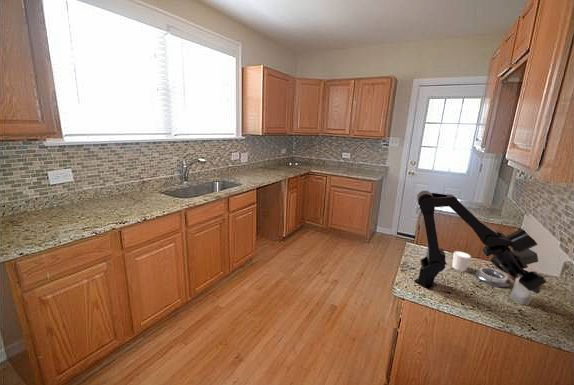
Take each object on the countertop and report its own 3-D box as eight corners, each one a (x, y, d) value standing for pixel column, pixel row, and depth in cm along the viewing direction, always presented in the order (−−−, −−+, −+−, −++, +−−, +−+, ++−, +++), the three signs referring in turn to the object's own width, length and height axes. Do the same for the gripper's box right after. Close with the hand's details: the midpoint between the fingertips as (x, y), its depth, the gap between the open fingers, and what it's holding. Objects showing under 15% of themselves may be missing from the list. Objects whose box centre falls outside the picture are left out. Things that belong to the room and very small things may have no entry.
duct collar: (502, 290, 106) (504, 284, 105) (469, 275, 116) (471, 269, 115) (514, 282, 112) (516, 276, 111) (482, 269, 122) (484, 263, 121)
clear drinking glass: (525, 306, 97) (535, 275, 93) (507, 298, 101) (516, 268, 98) (531, 302, 100) (541, 272, 96) (513, 293, 104) (522, 264, 101)
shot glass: (451, 262, 127) (454, 249, 125) (468, 267, 123) (472, 254, 121) (449, 268, 122) (452, 254, 120) (467, 273, 118) (470, 259, 116)
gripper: (548, 255, 86) (572, 287, 88) (505, 233, 104) (526, 259, 106) (517, 275, 88) (542, 305, 90) (480, 249, 106) (502, 275, 108)
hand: (527, 284), depth 99 cm, fingers open, 9 cm apart
